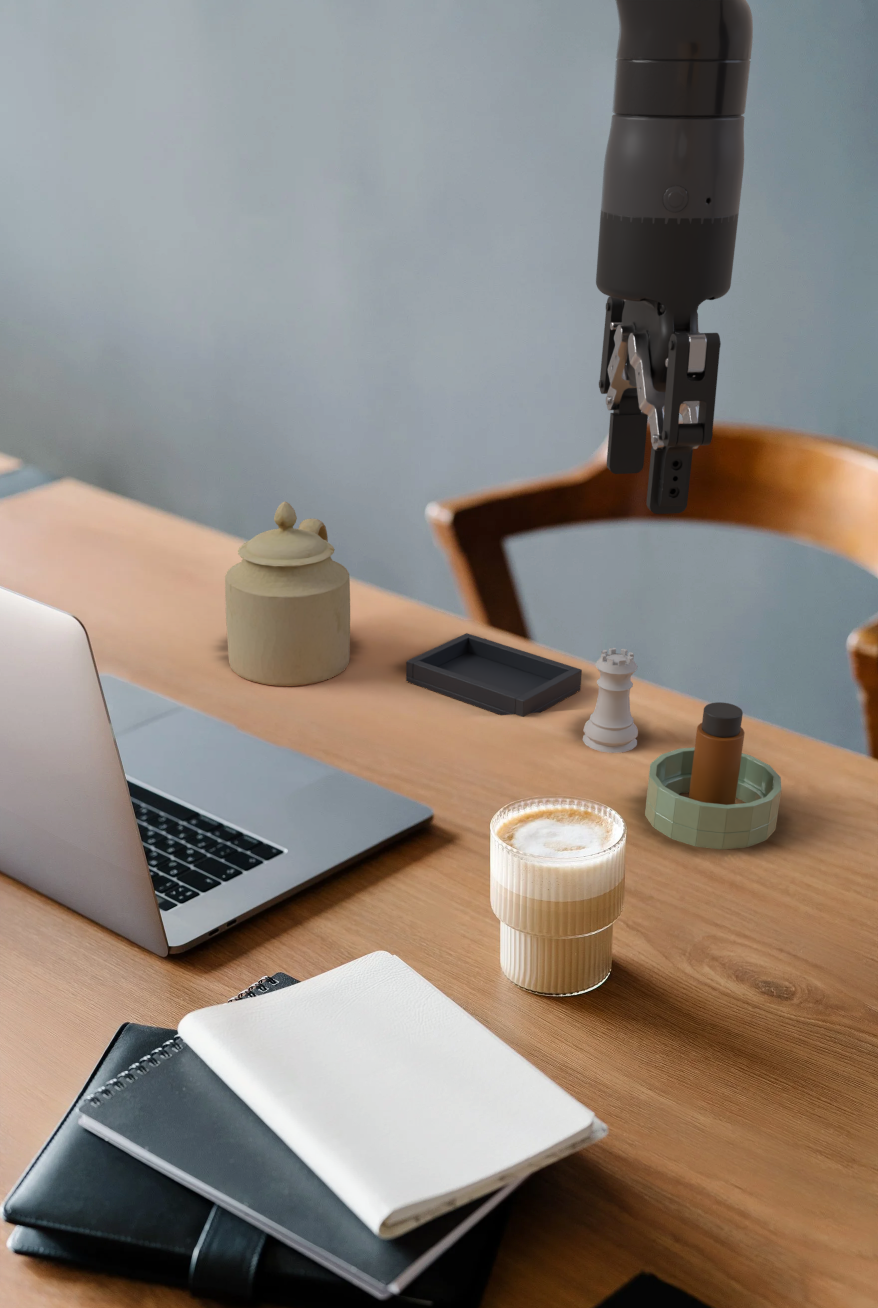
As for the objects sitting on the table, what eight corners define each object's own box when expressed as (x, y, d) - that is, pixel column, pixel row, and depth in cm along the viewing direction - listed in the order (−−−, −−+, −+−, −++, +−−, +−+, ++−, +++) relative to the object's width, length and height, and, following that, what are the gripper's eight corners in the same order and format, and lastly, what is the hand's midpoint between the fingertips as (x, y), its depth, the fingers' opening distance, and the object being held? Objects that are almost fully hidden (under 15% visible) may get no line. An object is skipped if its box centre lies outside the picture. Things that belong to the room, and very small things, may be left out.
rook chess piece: (569, 745, 111) (576, 653, 108) (605, 729, 114) (612, 638, 110) (613, 764, 108) (622, 670, 105) (649, 747, 111) (658, 654, 107)
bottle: (721, 811, 101) (736, 698, 97) (738, 833, 98) (755, 718, 94) (679, 815, 100) (692, 701, 96) (695, 837, 97) (710, 721, 93)
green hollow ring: (742, 796, 104) (749, 742, 102) (794, 858, 96) (803, 801, 94) (626, 806, 103) (631, 751, 100) (670, 870, 95) (676, 812, 93)
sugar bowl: (215, 629, 133) (207, 475, 126) (328, 620, 135) (326, 468, 129) (237, 692, 120) (230, 524, 113) (362, 681, 122) (362, 515, 116)
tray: (580, 690, 121) (582, 669, 120) (522, 722, 115) (523, 701, 114) (465, 652, 128) (466, 632, 127) (405, 681, 122) (406, 660, 121)
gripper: (784, 218, 71) (746, 525, 78) (693, 191, 84) (667, 458, 91) (641, 220, 70) (616, 530, 77) (571, 193, 83) (555, 462, 90)
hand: (644, 491), depth 84 cm, fingers open, 8 cm apart
